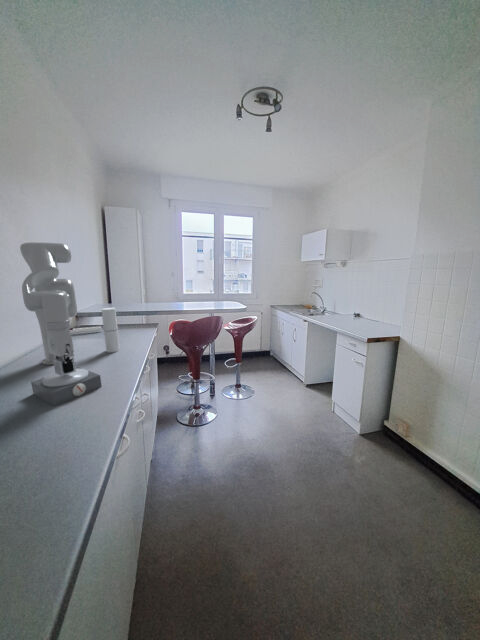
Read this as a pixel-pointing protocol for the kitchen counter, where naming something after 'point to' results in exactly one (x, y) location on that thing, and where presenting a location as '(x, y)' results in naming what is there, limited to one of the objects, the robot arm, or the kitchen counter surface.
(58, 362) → the steel spacer
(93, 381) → the kitchen scale
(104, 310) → the cylindrical container
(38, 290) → the robot arm
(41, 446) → the kitchen counter surface
